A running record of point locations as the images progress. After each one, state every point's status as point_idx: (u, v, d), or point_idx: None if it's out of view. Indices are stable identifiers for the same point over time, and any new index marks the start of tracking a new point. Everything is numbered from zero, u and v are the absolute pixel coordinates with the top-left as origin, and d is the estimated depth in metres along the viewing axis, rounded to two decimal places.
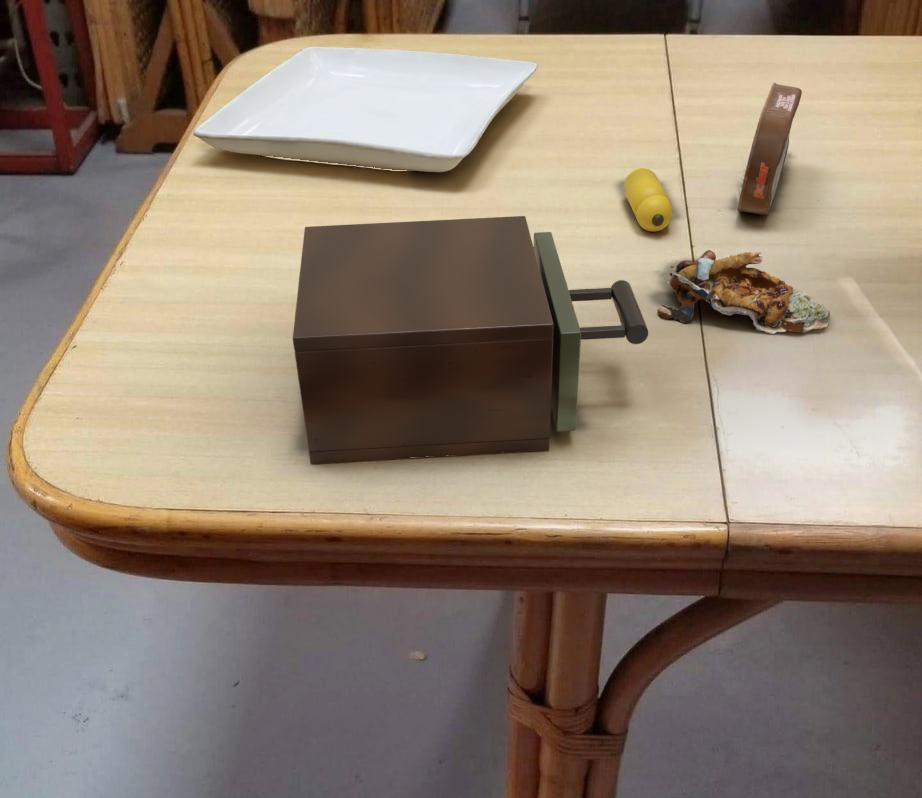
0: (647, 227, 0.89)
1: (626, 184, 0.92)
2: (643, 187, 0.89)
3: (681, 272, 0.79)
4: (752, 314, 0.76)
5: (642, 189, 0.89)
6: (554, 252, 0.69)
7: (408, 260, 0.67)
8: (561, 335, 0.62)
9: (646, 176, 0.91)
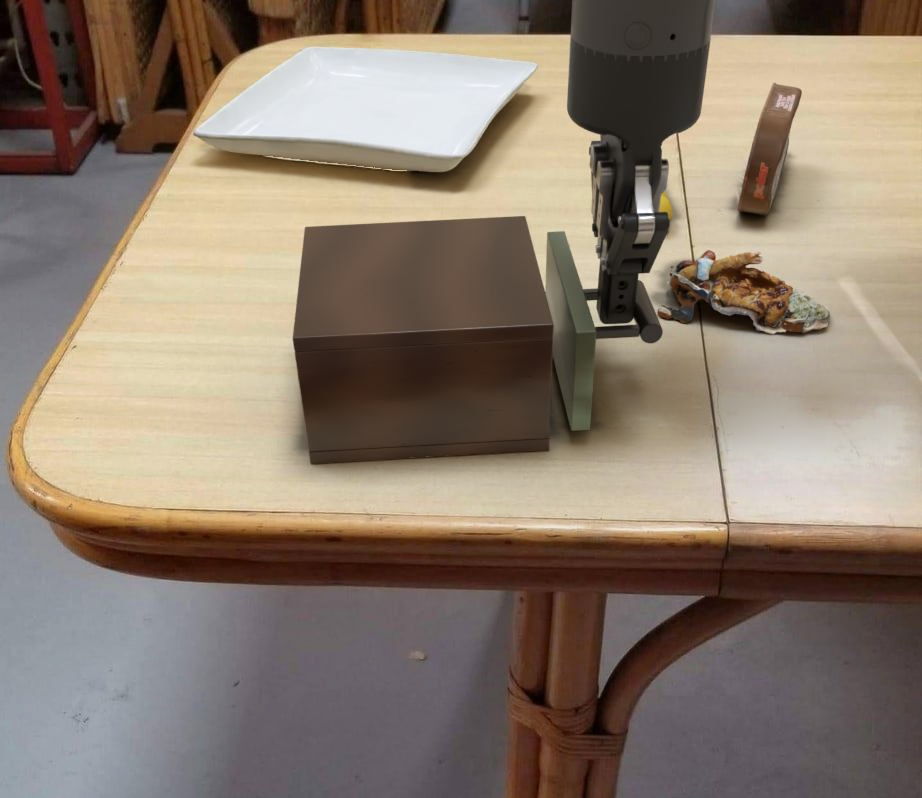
0: None
1: None
2: None
3: (681, 272, 0.79)
4: (752, 314, 0.76)
5: None
6: (568, 251, 0.70)
7: (408, 260, 0.67)
8: (576, 334, 0.62)
9: None
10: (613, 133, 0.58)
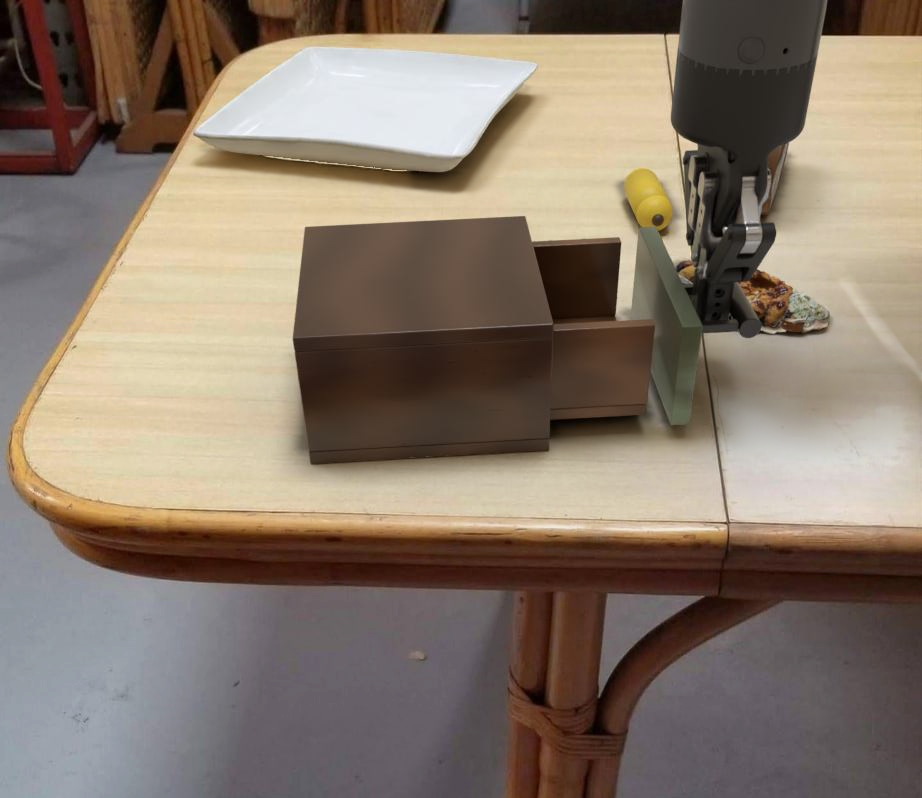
0: None
1: (626, 184, 0.92)
2: (643, 187, 0.89)
3: (681, 272, 0.79)
4: None
5: (642, 189, 0.89)
6: (662, 246, 0.70)
7: (408, 260, 0.67)
8: (683, 328, 0.62)
9: (646, 176, 0.91)
10: (721, 145, 0.59)
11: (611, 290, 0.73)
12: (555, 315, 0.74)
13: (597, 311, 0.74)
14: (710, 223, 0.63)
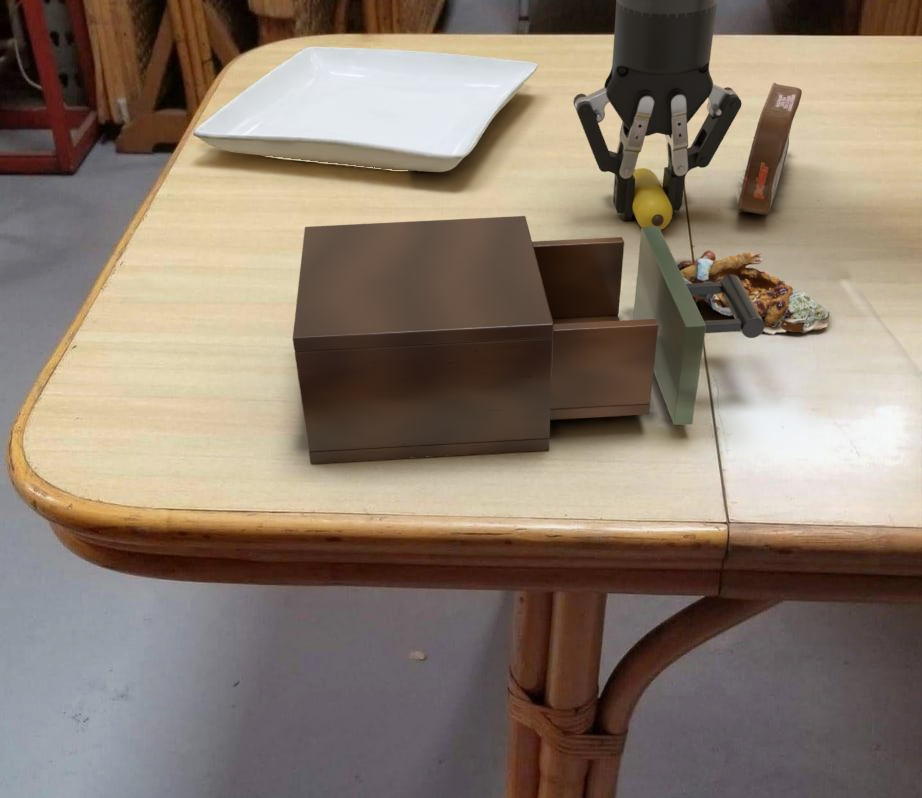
0: None
1: None
2: (642, 188, 0.89)
3: (681, 272, 0.79)
4: None
5: (642, 189, 0.89)
6: (665, 246, 0.70)
7: (408, 260, 0.67)
8: (686, 328, 0.62)
9: (646, 176, 0.91)
10: None
11: (614, 290, 0.73)
12: (558, 315, 0.74)
13: (600, 311, 0.74)
14: None
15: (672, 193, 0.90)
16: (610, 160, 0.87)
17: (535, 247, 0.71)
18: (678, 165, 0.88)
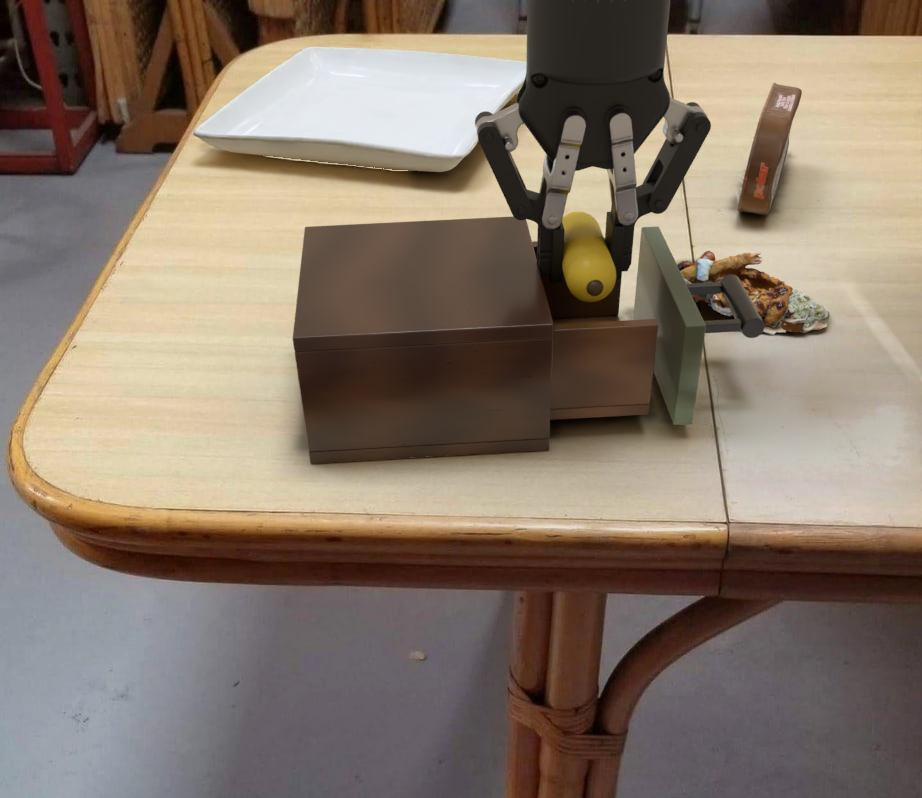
0: (581, 297, 0.64)
1: None
2: (576, 241, 0.64)
3: None
4: None
5: (575, 243, 0.64)
6: (665, 246, 0.70)
7: (408, 260, 0.67)
8: (686, 328, 0.62)
9: (582, 224, 0.66)
10: None
11: (614, 290, 0.73)
12: (558, 315, 0.74)
13: (600, 311, 0.74)
14: None
15: (617, 248, 0.65)
16: (528, 204, 0.62)
17: (535, 247, 0.71)
18: (624, 211, 0.63)
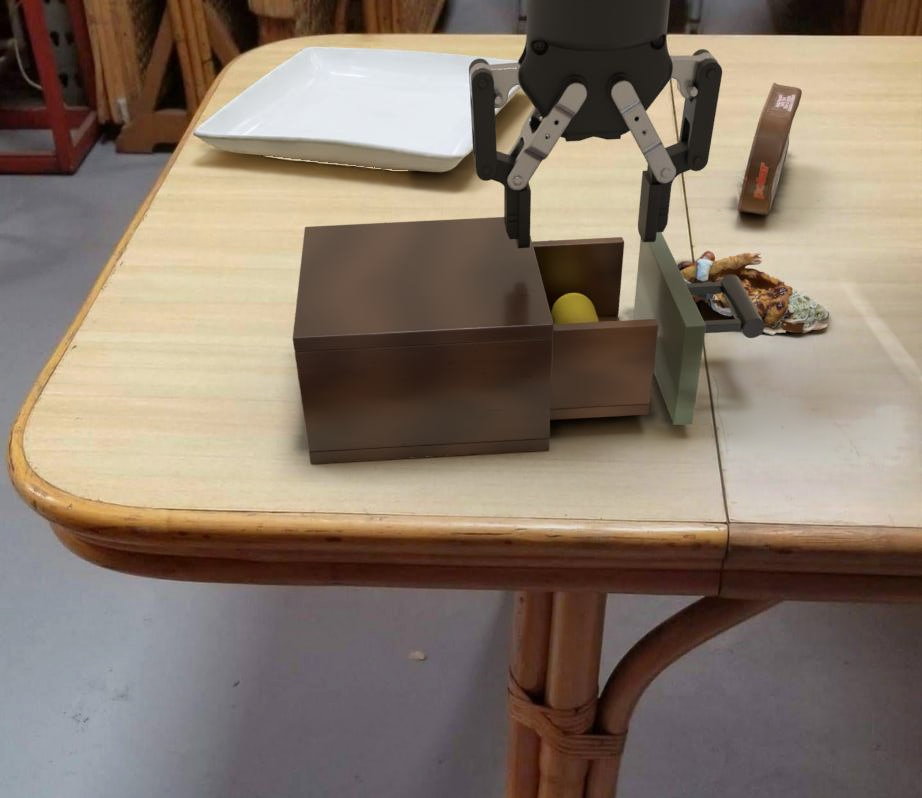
0: None
1: (552, 315, 0.71)
2: None
3: None
4: None
5: None
6: (665, 246, 0.70)
7: (408, 260, 0.67)
8: (686, 328, 0.62)
9: (577, 307, 0.70)
10: None
11: (614, 290, 0.73)
12: None
13: (600, 311, 0.74)
14: None
15: (653, 208, 0.63)
16: (493, 164, 0.61)
17: (535, 247, 0.71)
18: (659, 170, 0.61)
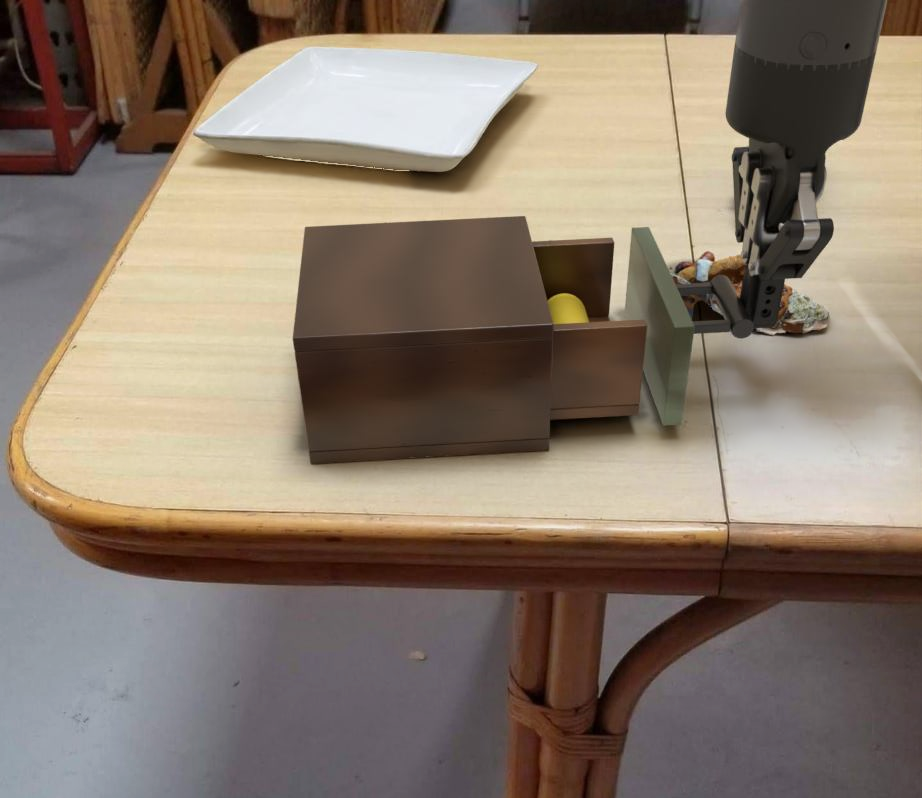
0: None
1: None
2: None
3: (680, 273, 0.79)
4: None
5: None
6: (655, 247, 0.70)
7: (408, 260, 0.67)
8: (675, 329, 0.62)
9: (567, 307, 0.70)
10: (779, 141, 0.59)
11: (604, 290, 0.73)
12: None
13: (590, 311, 0.74)
14: (764, 219, 0.63)
15: None
16: None
17: None
18: None
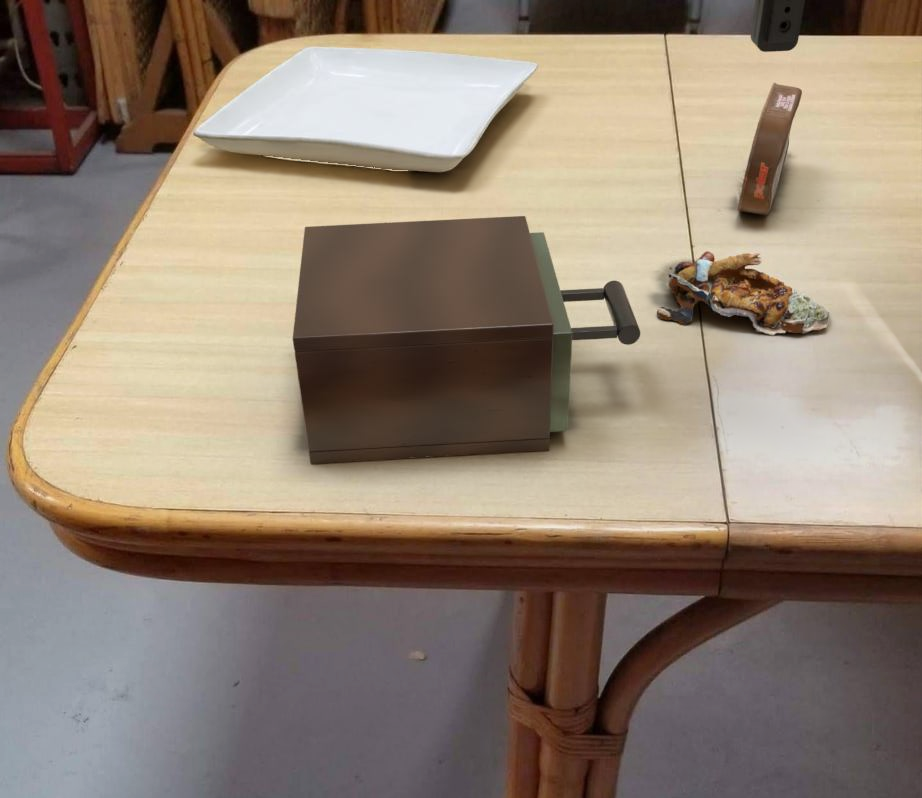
0: None
1: None
2: None
3: (680, 273, 0.79)
4: (752, 315, 0.76)
5: None
6: (546, 252, 0.69)
7: (408, 260, 0.67)
8: None
9: None
10: None
11: None
12: None
13: None
14: None
15: None
16: None
17: None
18: None
